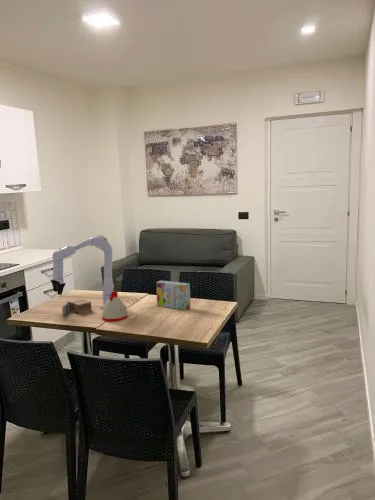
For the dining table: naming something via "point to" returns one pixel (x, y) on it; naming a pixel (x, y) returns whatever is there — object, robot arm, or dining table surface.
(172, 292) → the snack box
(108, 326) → the dining table surface
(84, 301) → the cabinet
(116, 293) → the kitchen timer
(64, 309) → the door
